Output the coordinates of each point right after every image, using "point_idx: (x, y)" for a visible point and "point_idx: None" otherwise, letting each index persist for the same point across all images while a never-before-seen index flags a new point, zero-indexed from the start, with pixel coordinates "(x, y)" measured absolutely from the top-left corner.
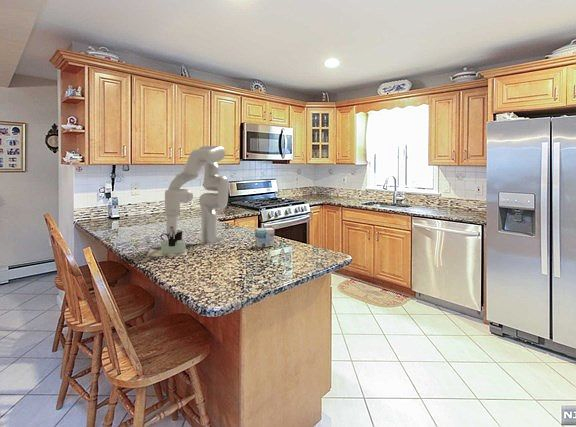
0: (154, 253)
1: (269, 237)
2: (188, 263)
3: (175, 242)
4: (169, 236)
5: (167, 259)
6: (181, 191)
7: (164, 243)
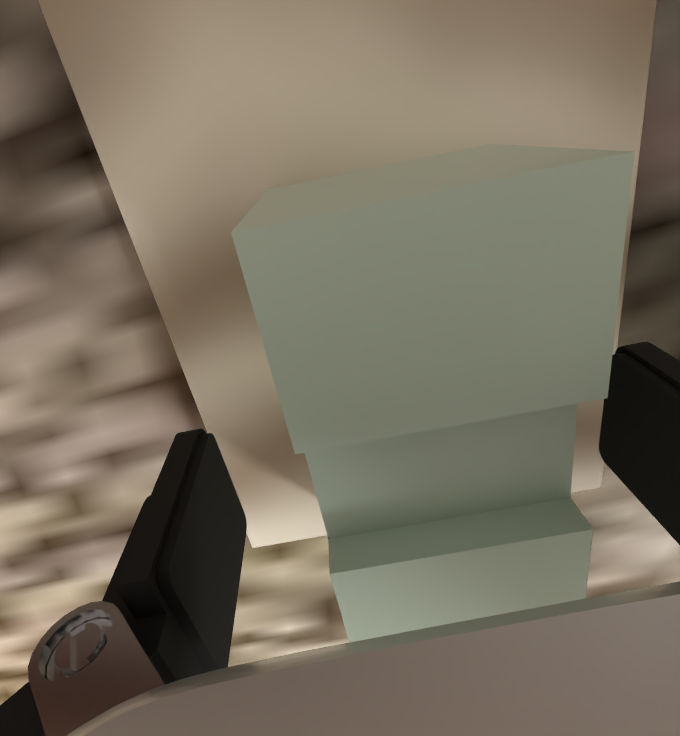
0: (302, 3)
1: None
2: (18, 586)
3: (521, 478)
4: (49, 721)
5: (125, 332)
6: None
7: (260, 328)
